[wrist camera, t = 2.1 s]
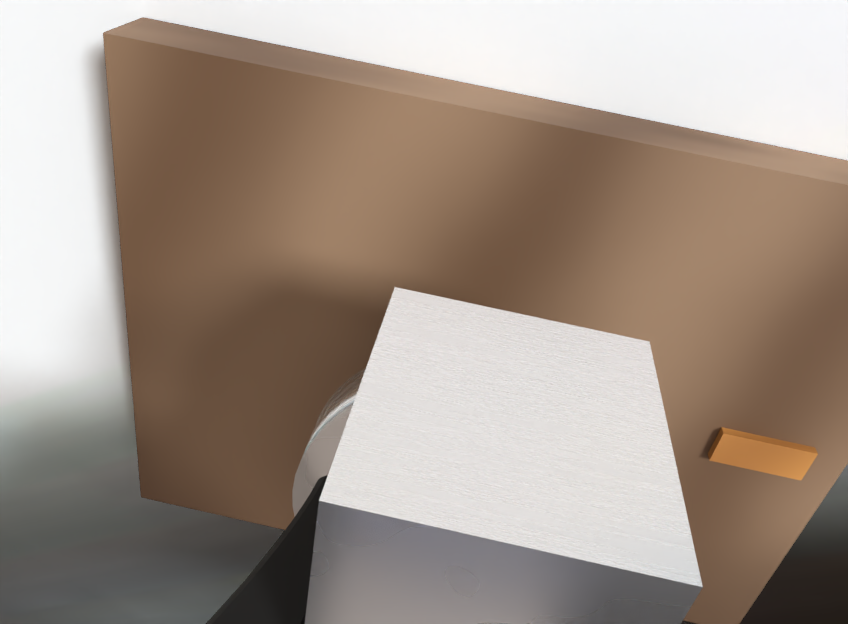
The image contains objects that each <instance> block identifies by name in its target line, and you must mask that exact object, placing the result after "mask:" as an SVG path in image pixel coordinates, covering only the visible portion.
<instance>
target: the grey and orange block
mask: <svg viewBox="0 0 848 624" xmlns="http://www.w3.org/2000/svg"><path fill="white" fill-rule="evenodd" d="M326 475H327V479H326V482H325V485H324V488H323V491H322V493H321V496H320V499H319V504H318V513H317V521H316V530H315V539H314V547H313V556H312V565H311V573H310V582H309V591H308V599H307V608H306V617H305V624H681V623H682V621H683V619H684V618H685V616H686V614H687V613H688V611H689V609H690V608H691V606H692V604H693V603H694V601H695V599H696V598H697V596H698V594H699V593H700V591H701V589H702V588H703V586H702V581H701V577H700V572H699V567H698V563H697V558H696V554H695V549H694V544H693V540H692V535H691V531H690V526H689V521H688V517H687V512H686V508H685V503H684V498H683V494H682V489H681V484H680V480H679V475H678V471H677V466H676V461H675V457H674V452H673V448H672V443H671V438H670V434H669V429H668V425H667V420H666V415H665V411H664V406H663V401H662V397H661V392H660V388H659V383H658V378H657V374H656V369H655V365H654V360H653V355H652V351H651V346H650V342H649V341H645V340H640V339H635V338H631V337H626V336H621V335H617V334H612V333H607V332H603V331H598V330H593V329H589V328H584V327H579V326H575V325H570V324H565V323H561V322H556V321H551V320H547V319H542V318H537V317H533V316H528V315H523V314H519V313H514V312H509V311H505V310H500V309H495V308H491V307H486V306H481V305H477V304H472V303H467V302H463V301H458V300H453V299H449V298H444V297H439V296H435V295H430V294H425V293H421V292H416V291H411V290H407V289H402V288H397V287H395V288H394V291H393V293H392V296H391V299H390V302H389V305H388V308H387V310H386V313H385V316H384V319H383V322H382V324H381V327H380V330H379V333H378V336H377V339H376V341H375V344H374V347H373V350H372V353H371V355H370V358H369V361H368V364H367V367H366V368H365V369H363V370H361V371H360V372H358V373H357V374H355V375H353V376H352V377H351V378H350V379H349V380H347V381H346V382H345V383H344V384H343V385H341V386H340V387H339V388H338V389H337V391H336V392H335V393H334V394H333V395H332V396H331V398H330V399H329V400H328V401H327V403H326V405H325V406H324V408H323V410H322V411H321V413H320V415H319V417H318V420H317V422H316V425H315V427H314V430H313V432H312V434H311V437H310V439H309V442H308V444H307V447H306V449H305V451H304V454H303V456H302V459H301V461H300V464H299V467H298V469H297V472H296V474H295V479H294V485H293V490H292V499H293V511H294V516H296V514H297V513H298V511H299V510H300V508H301V507H302V506H303V504H304V502H305V501H306V499H307V498H308V496H309V495H310V493H311V491H312V490H313V488H314V486H315V484H316V483H317V481H318V479H319V478H321V477H323V476H326Z"/></svg>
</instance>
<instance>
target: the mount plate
mask: <svg viewBox="0 0 848 624" xmlns="http://www.w3.org/2000/svg"><path fill="white" fill-rule="evenodd" d="M103 38H104V50H105V62H106V75H107V87H108V99H109V111H110V123H111V136H112V148H113V160H114V172H115V185H116V197H117V209H118V221H119V234H120V246H121V258H122V270H123V283H124V295H125V307H126V319H127V332H128V344H129V356H130V368H131V381H132V393H133V405H134V417H135V430H136V442H137V454H138V466H139V479H140V491H141V497H142V498H147V499H151V500H156V501H160V502H164V503H169V504H173V505H178V506H182V507H186V508H191V509H195V510H200V511H204V512H208V513H213V514H217V515H222V516H226V517H230V518H235V519H239V520H244V521H248V522H252V523H257V524H261V525H266V526H270V527H274V528H279V529H283V530H286V528H287V527H288V525H289V524H290V523H291V521H292V520H293V519H294V517H295V516H294V511H293V499H292V490H293V485H294V479H295V474H296V472H297V469H298V467H299V464H300V461H301V459H302V456H303V454H304V451H305V449H306V447H307V444H308V442H309V439H310V437H311V434H312V432H313V430H314V427H315V425H316V422H317V420H318V417H319V415H320V413H321V411H322V410H323V408H324V406H325V405H326V403H327V401H328V400H329V399H330V398H331V396H332V395H333V394H334V393H335V392H336V391H337V389H338V388H339V387H340V386H341V385H343V384H344V383H345V382H346V381H347V380H349V379H350V378H351V377H352V376H353V375H355V374H357V373H358V372H360V371H361V370H363V369H365V368H366V367H367V364H368V361H369V358H370V355H371V353H372V350H373V347H374V344H375V341H376V339H377V336H378V333H379V330H380V327H381V324H382V322H383V319H384V316H385V313H386V310H387V308H388V305H389V302H390V299H391V296H392V293H393V291H394V288H395V287H397V288H402V289H407V290H411V291H416V292H421V293H425V294H430V295H435V296H439V297H444V298H449V299H453V300H458V301H463V302H467V303H472V304H477V305H481V306H486V307H491V308H495V309H500V310H505V311H509V312H514V313H519V314H523V315H528V316H533V317H537V318H542V319H547V320H551V321H556V322H561V323H565V324H570V325H575V326H579V327H584V328H589V329H593V330H598V331H603V332H607V333H612V334H617V335H621V336H626V337H631V338H635V339H640V340H645V341H649V342H650V346H651V351H652V355H653V360H654V365H655V369H656V374H657V378H658V383H659V388H660V392H661V397H662V401H663V406H664V411H665V415H666V420H667V425H668V429H669V434H670V438H671V443H672V448H673V452H674V457H675V461H676V466H677V471H678V475H679V480H680V484H681V489H682V494H683V498H684V503H685V508H686V512H687V517H688V521H689V526H690V531H691V535H692V540H693V544H694V549H695V554H696V558H697V563H698V567H699V572H700V577H701V581H702V586H703V588H702V589H701V591H700V593H699V594H698V596H697V598H696V599H695V601H694V603H693V604H692V606H691V608H690V609H689V611H688V613H687V614H686V616H685V618H684V619H683V620H684V621H688V622H693V623H697V624H740V622H741V621H742V619H743V618H744V616H745V615H746V613H747V612H748V610H749V609H750V607H751V606H752V604H753V603H754V601H755V600H756V598H757V597H758V595H759V594H760V592H761V591H762V590H763V588H764V587H765V585H766V584H767V582H768V581H769V579H770V578H771V576H772V575H773V573H774V572H775V570H776V569H777V567H778V566H779V564H780V563H781V561H782V560H783V558H784V557H785V555H786V554H787V552H788V551H789V549H790V548H791V547H792V545H793V544H794V542H795V541H796V539H797V538H798V536H799V535H800V533H801V532H802V530H803V529H804V527H805V526H806V524H807V523H808V521H809V520H810V518H811V517H812V515H813V514H814V512H815V511H816V509H817V508H818V507H819V505H820V504H821V502H822V501H823V499H824V498H825V496H826V495H827V493H828V492H829V490H830V489H831V487H832V486H833V484H834V483H835V481H836V480H837V478H838V477H839V475H840V474H841V472H842V471H843V469H844V468H845V466H846V465H847V464H848V161H847V160H842V159H837V158H832V157H827V156H822V155H817V154H812V153H807V152H802V151H797V150H792V149H788V148H783V147H778V146H773V145H768V144H763V143H758V142H753V141H748V140H743V139H738V138H733V137H729V136H724V135H719V134H714V133H709V132H704V131H699V130H694V129H689V128H684V127H679V126H674V125H670V124H665V123H660V122H655V121H650V120H645V119H640V118H635V117H630V116H625V115H620V114H615V113H611V112H606V111H601V110H596V109H591V108H586V107H581V106H576V105H571V104H566V103H561V102H557V101H552V100H547V99H542V98H537V97H532V96H527V95H522V94H517V93H512V92H507V91H502V90H498V89H493V88H488V87H483V86H478V85H473V84H468V83H463V82H458V81H453V80H448V79H443V78H439V77H434V76H429V75H424V74H419V73H414V72H409V71H404V70H399V69H394V68H389V67H384V66H380V65H375V64H370V63H365V62H360V61H355V60H350V59H345V58H340V57H335V56H330V55H325V54H321V53H316V52H311V51H306V50H301V49H296V48H291V47H286V46H281V45H276V44H271V43H267V42H262V41H257V40H252V39H247V38H242V37H237V36H232V35H227V34H222V33H217V32H212V31H208V30H203V29H198V28H193V27H188V26H183V25H178V24H173V23H168V22H163V21H158V20H153V19H149V18H144V17H143V18H140V19H137V20H135V21H132V22H130V23H127V24H124V25H122V26H119V27H117V28H114V29H111V30H109V31H106V32H104V33H103Z"/></svg>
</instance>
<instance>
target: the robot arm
mask: <svg viewBox="0 0 848 624" xmlns="http://www.w3.org/2000/svg"><path fill="white" fill-rule="evenodd" d="M326 479H327V475H326V476H323V477H321V478H319V479H318V481H317V483H316V484H315V486H314V488H313V490H312V491H311V493H310V495H309V496H308V498H307V499H306V501H305V502H304V504H303V506H302V507H301V508H300V510H299V511H298V513H297V514H296V516H295V517H294V519H293V520H292V521H291V523H290V524H289V525H288V527H287V528H286V530H285V531H284V532H283V534H282V535H281V536H280V538H279V539H278V540H277V542H276V543H275V544H274V545H273V547H272V548H271V549H270V550H269V552H268V553H267V554H266V555H265V557H264V558H263V559H262V560H261V561H260V563H259V564H258V565H257V566H256V568H255V569H254V570H253V571H252V573H251V574H250V575H249V576H248V577H247V579H246V580H245V581H244V582H243V583H242V584H241V585H240V587H239V588H238V589H237V590H236V591H235V592H234V593H233V594H232V595H231V597H230V598H229V599H228V600H227V601H226V602H225V603H224V604H223V605H222V606H221V608H220V609H219V610H218V611H217V612H216V613H215V614H214V615H213V616H212V618H211V619H210V620H209V621H208V622H207V623H206V624H305V617H306V608H307V599H308V591H309V582H310V573H311V565H312V556H313V547H314V539H315V530H316V521H317V513H318V504H319V499H320V496H321V493H322V491H323V488H324V485H325V482H326Z"/></svg>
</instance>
